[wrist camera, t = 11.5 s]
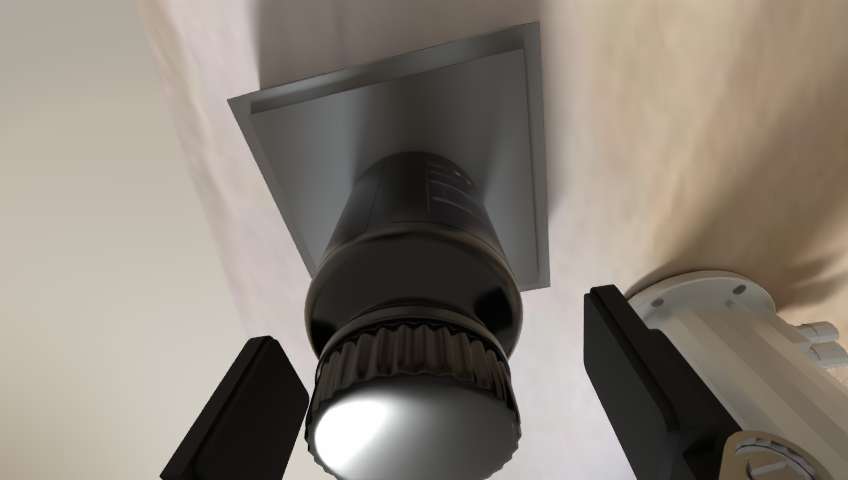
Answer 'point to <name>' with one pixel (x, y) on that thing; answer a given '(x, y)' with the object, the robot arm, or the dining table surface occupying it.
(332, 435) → the supplement bottle
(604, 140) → the dining table surface
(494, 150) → the grey square block
